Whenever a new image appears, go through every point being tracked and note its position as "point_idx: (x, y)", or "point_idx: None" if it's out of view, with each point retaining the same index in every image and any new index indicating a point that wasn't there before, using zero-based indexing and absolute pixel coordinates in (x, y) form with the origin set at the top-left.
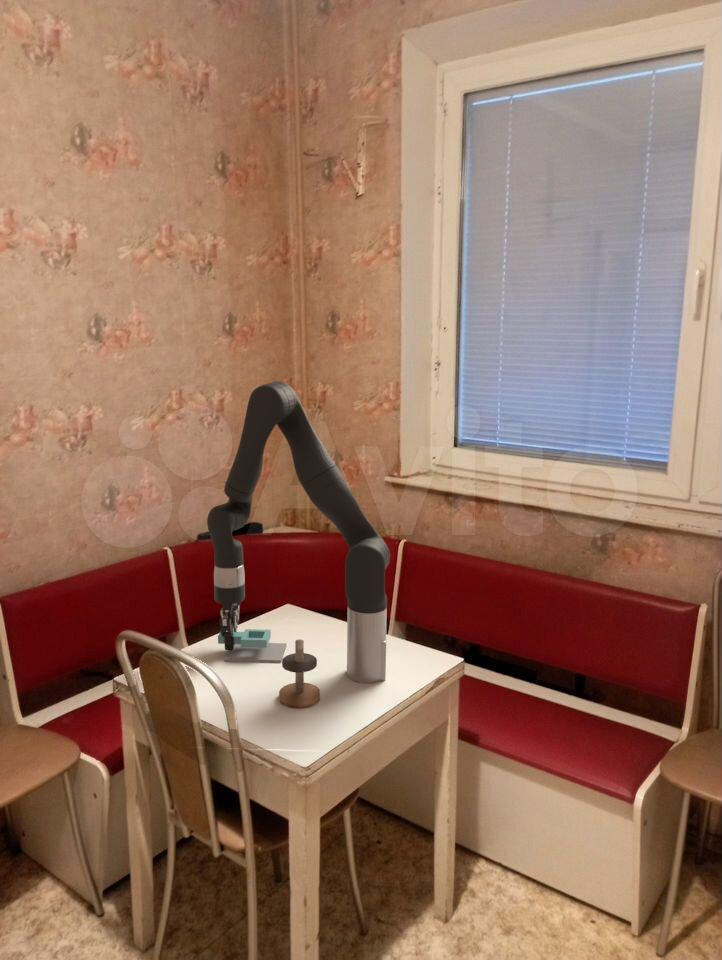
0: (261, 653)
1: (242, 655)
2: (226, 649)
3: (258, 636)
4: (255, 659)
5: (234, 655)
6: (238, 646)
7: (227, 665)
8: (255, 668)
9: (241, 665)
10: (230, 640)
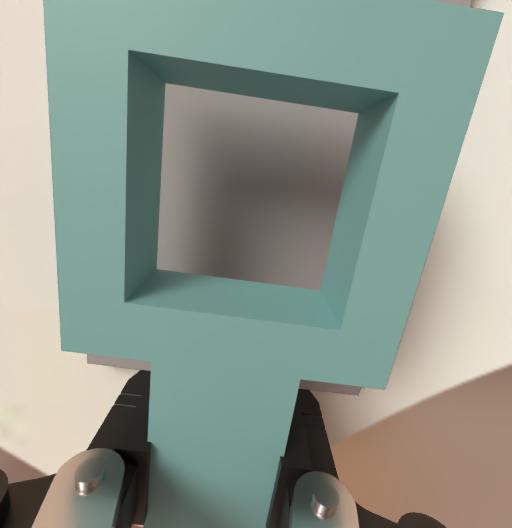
0: (310, 138)
1: None
2: None
3: (153, 169)
4: None
5: None
6: None
7: (404, 363)
8: (501, 182)
9: (426, 282)
10: (333, 461)
